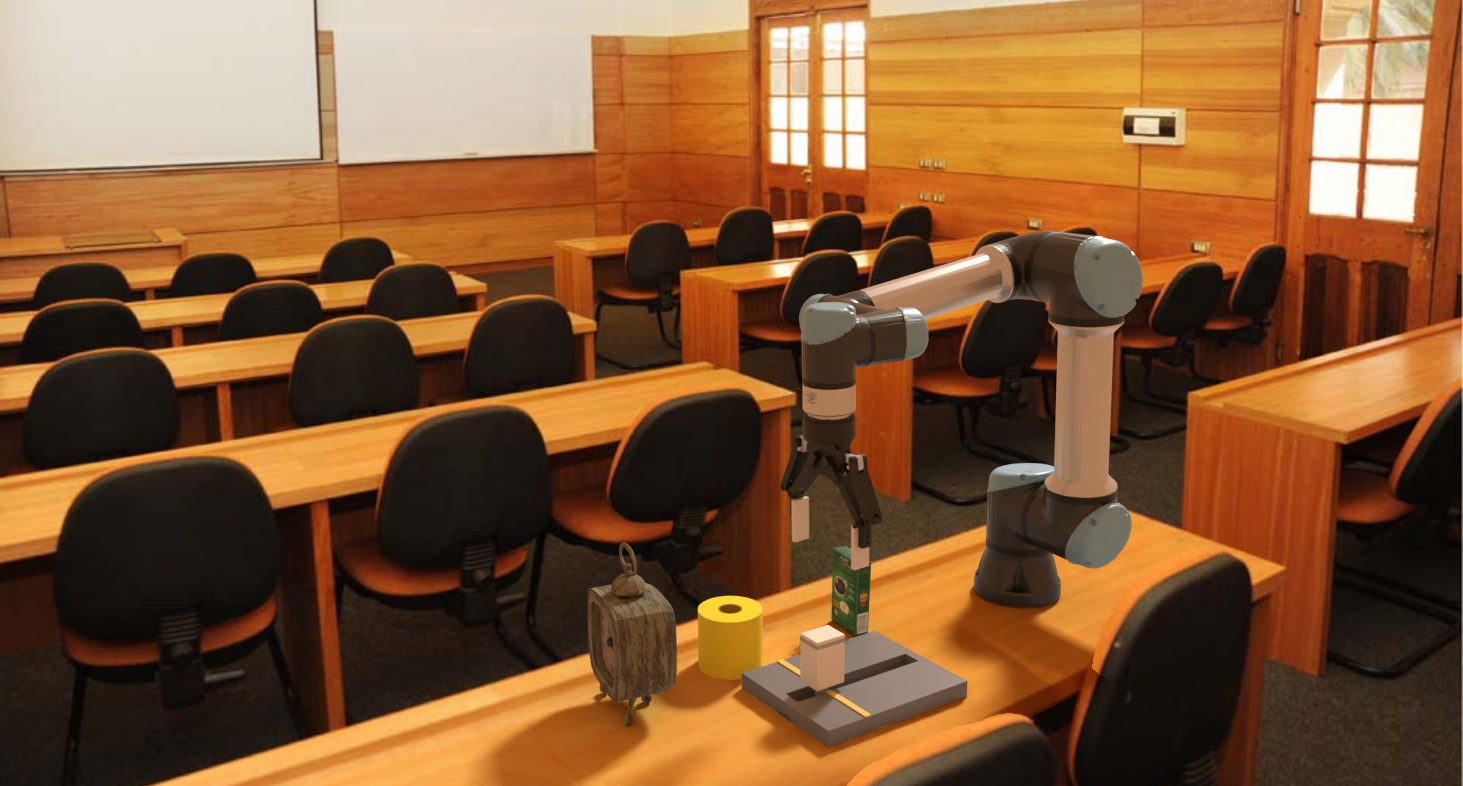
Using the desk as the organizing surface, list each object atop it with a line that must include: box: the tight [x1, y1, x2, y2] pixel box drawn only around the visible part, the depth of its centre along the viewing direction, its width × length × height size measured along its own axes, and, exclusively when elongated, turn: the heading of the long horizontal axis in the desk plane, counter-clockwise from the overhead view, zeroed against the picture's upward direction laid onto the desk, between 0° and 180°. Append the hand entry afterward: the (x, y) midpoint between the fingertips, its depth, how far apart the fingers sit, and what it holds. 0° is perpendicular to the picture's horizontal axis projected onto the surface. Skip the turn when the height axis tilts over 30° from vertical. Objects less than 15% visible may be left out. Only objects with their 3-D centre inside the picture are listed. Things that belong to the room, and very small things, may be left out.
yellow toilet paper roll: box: [697, 595, 764, 681], centre depth 197 cm, size 10×10×9 cm
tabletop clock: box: [586, 542, 678, 727], centre depth 182 cm, size 14×9×25 cm, turn 23°
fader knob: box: [799, 624, 846, 696], centre depth 184 cm, size 5×4×10 cm
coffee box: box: [830, 545, 872, 637], centre depth 209 cm, size 8×3×13 cm, turn 27°
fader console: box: [741, 630, 969, 749], centre depth 188 cm, size 26×21×3 cm
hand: (829, 553), depth 184 cm, fingers open, 13 cm apart
